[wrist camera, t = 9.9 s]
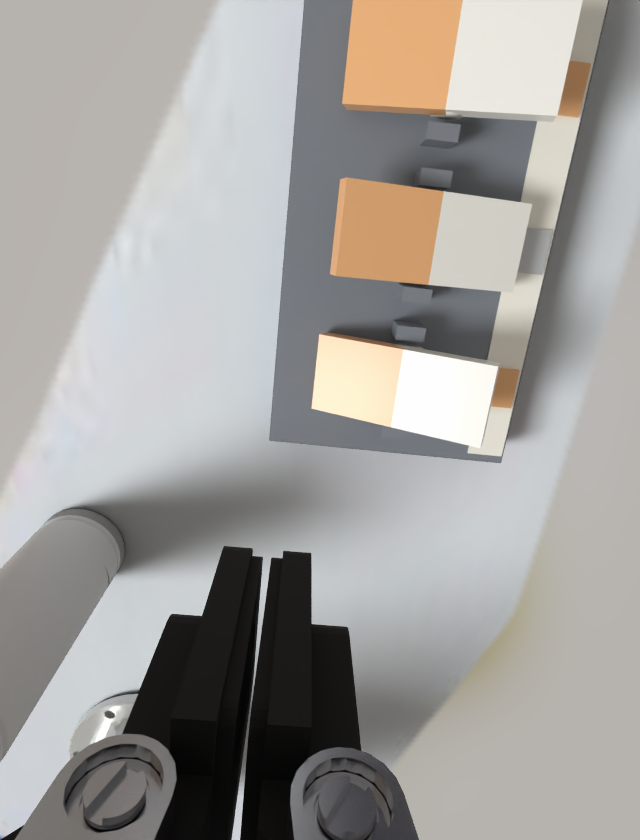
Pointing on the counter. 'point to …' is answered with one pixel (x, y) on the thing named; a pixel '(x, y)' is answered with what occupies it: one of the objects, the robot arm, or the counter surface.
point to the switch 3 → (405, 387)
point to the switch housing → (423, 168)
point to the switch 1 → (460, 57)
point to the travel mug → (49, 605)
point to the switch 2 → (427, 236)
